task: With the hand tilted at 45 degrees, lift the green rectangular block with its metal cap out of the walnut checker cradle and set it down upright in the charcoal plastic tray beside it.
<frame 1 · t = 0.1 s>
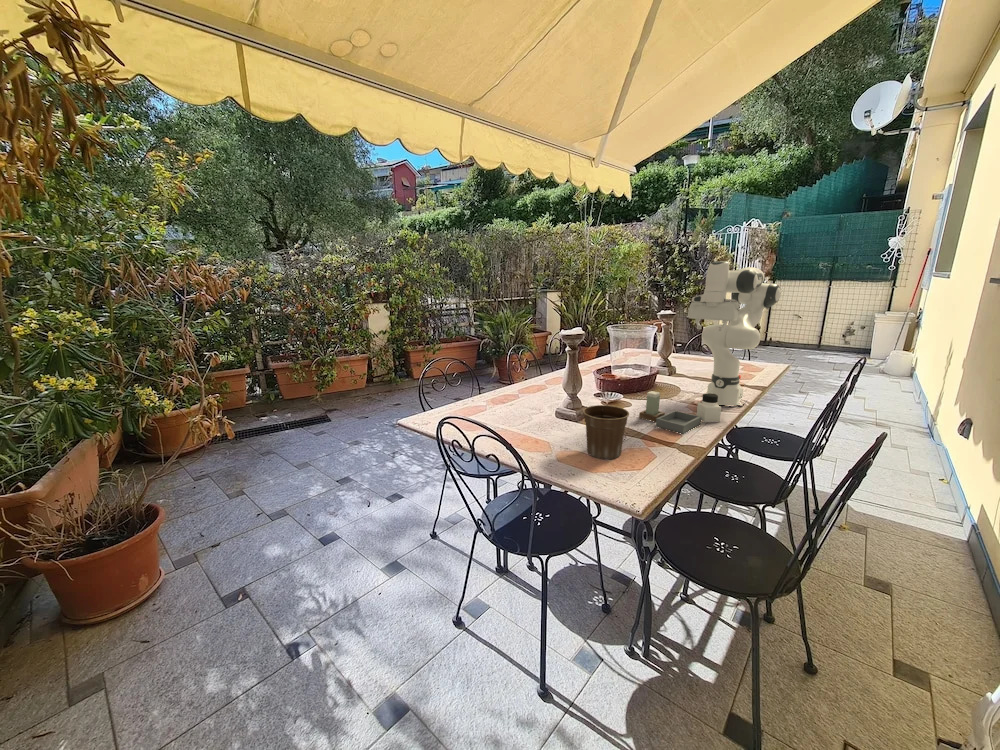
hand: (709, 330, 184), 39 cm above the table, tool pointing down, fingers open, 8 cm apart
plant pot: (604, 453, 153), on the table
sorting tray: (678, 425, 178), on the table
medicine bottle: (707, 420, 185), on the table
green rectangular block: (652, 405, 187), in the checker cradle
checker cradle: (651, 417, 188), on the table
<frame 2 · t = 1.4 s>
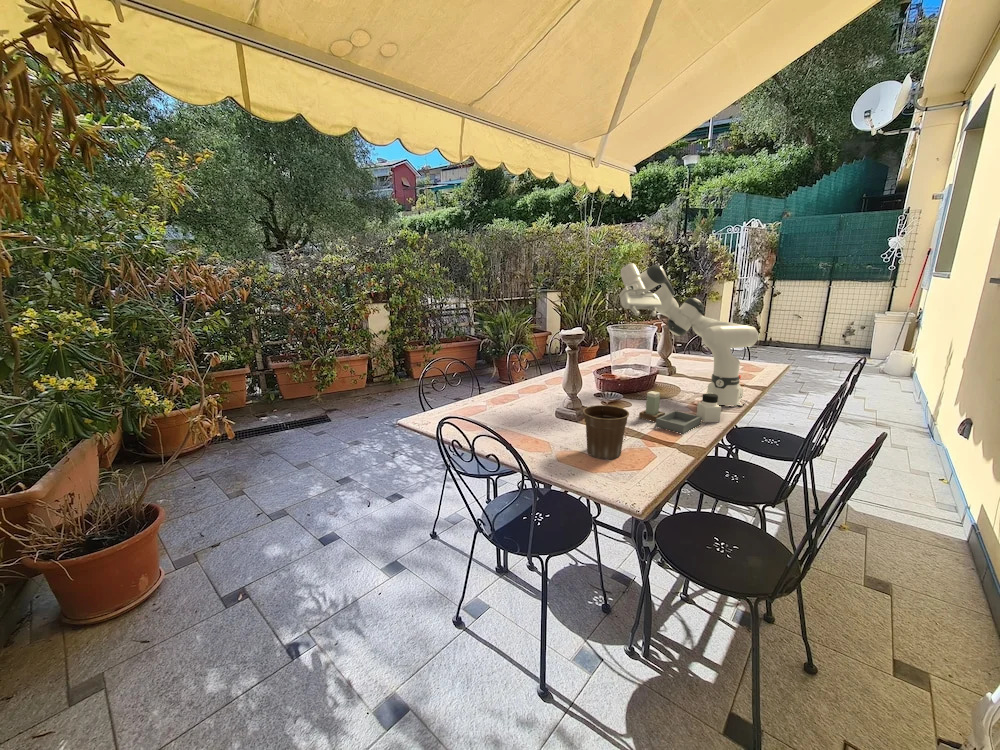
hand: (646, 315, 194), 45 cm above the table, tool tilted 40°, fingers open, 8 cm apart
nothing on the table moved.
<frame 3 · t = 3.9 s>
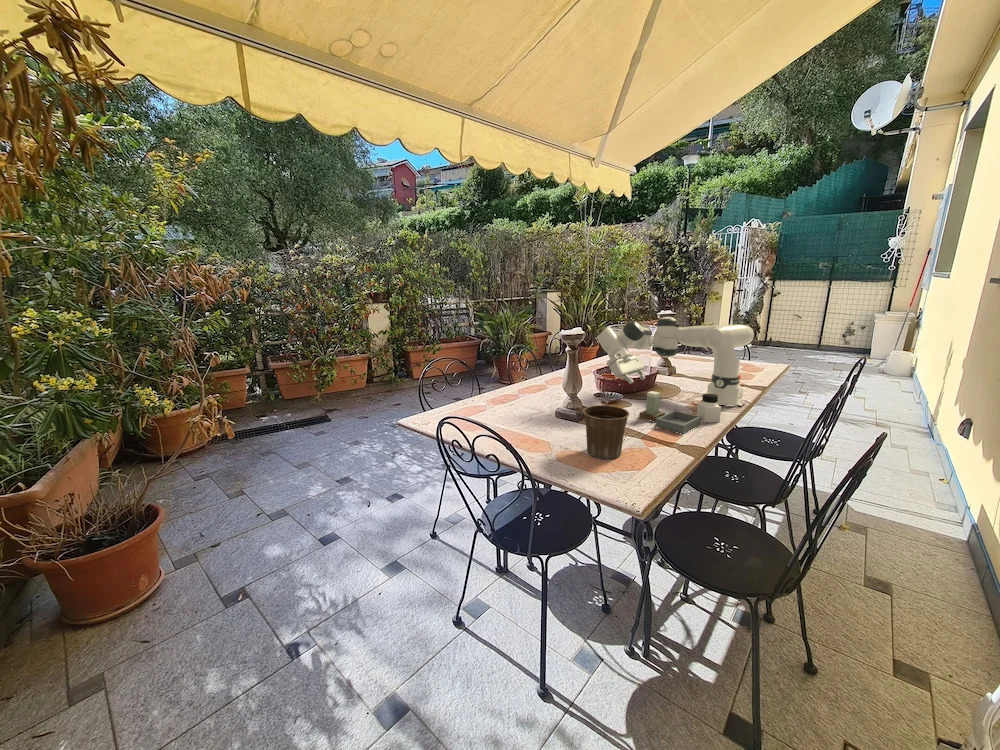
hand: (637, 381, 190), 16 cm above the table, tool tilted 45°, fingers open, 8 cm apart
nothing on the table moved.
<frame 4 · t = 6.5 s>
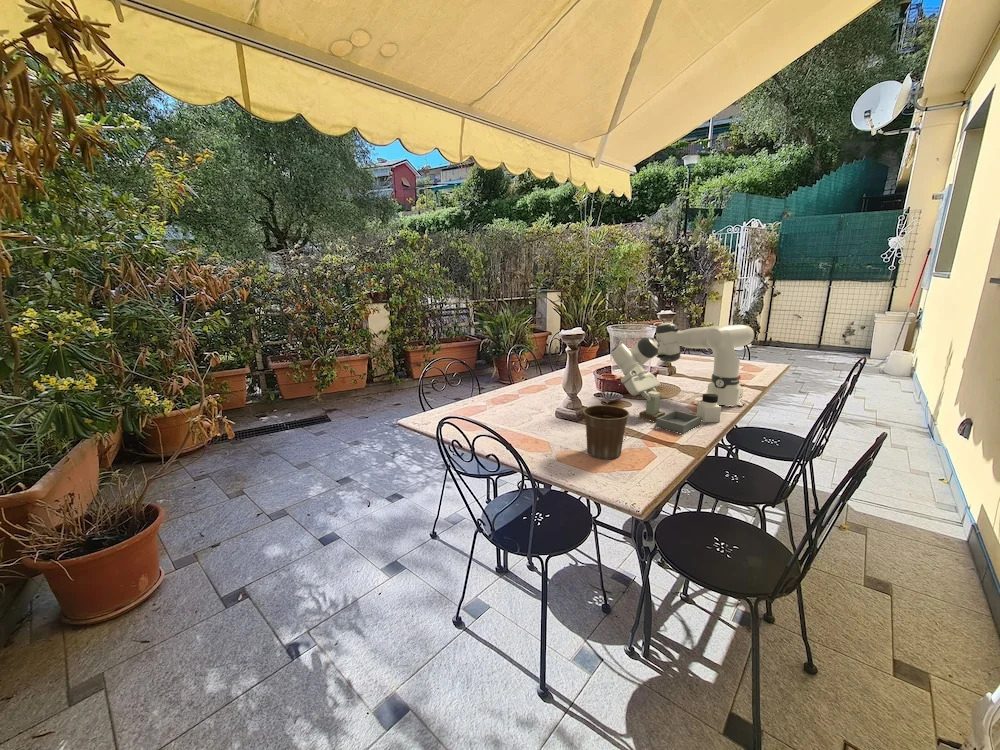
hand: (653, 398, 186), 9 cm above the table, tool tilted 45°, fingers closed on green rectangular block, 4 cm apart
green rectangular block: (652, 405, 187), in the checker cradle, touching gripper
everything else where it was.
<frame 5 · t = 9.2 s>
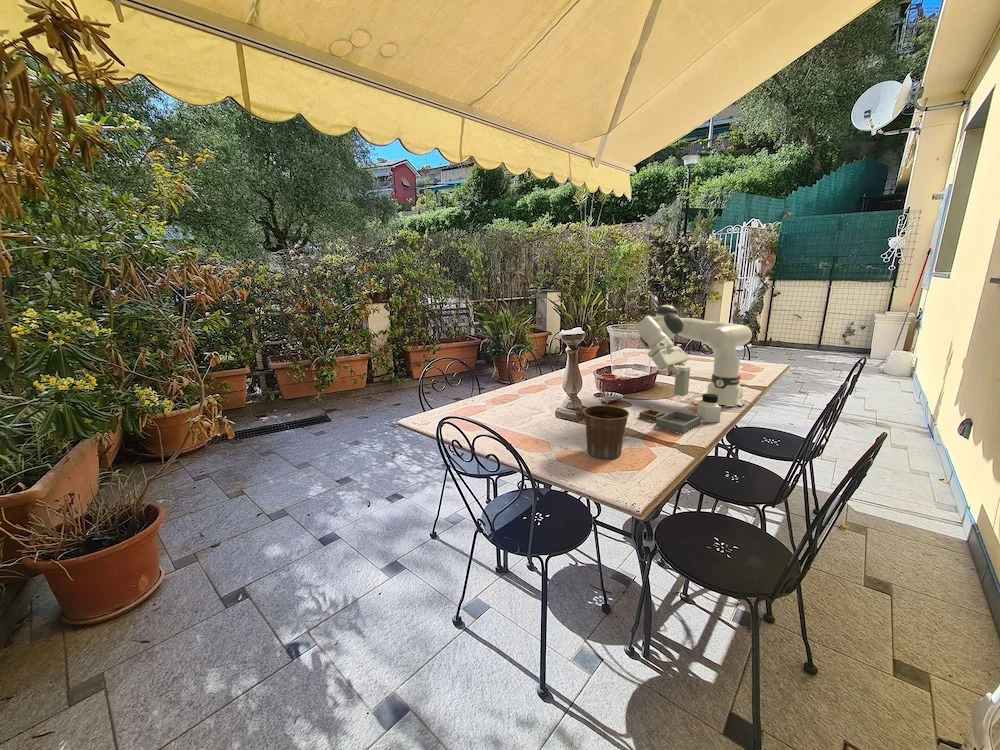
hand: (683, 373, 172), 23 cm above the table, tool tilted 45°, fingers closed on green rectangular block, 4 cm apart
green rectangular block: (682, 380, 173), point 20 cm above the table, touching gripper
everything else where it was.
when the fingers open (11 cm above the table, at t = 11.8 s): green rectangular block drops 1 cm, resting on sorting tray.
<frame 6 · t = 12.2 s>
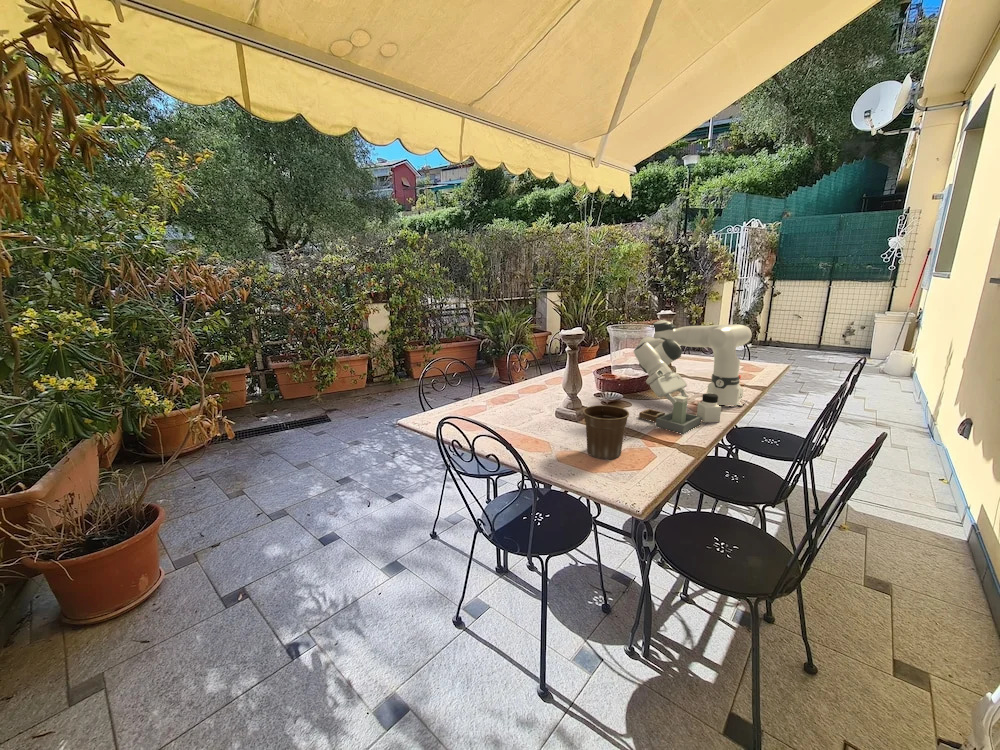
hand: (680, 400, 175), 11 cm above the table, tool tilted 45°, fingers open, 8 cm apart
green rectangular block: (679, 410, 176), in the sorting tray, point 7 cm above the table
everything else where it was.
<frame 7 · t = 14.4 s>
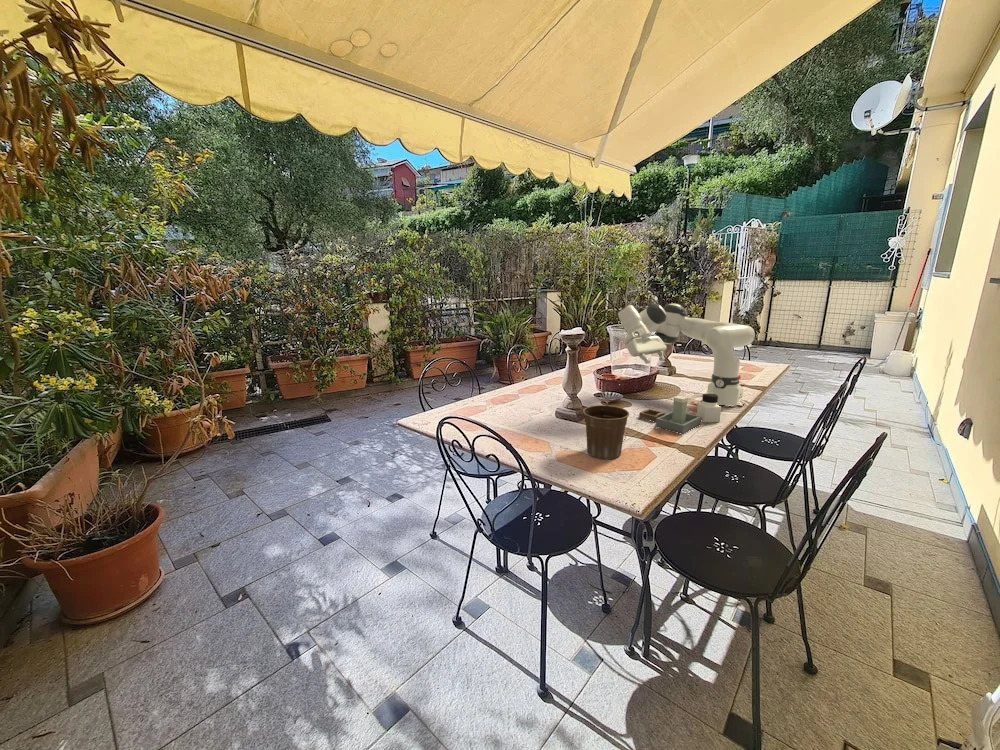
hand: (655, 361, 182), 26 cm above the table, tool tilted 40°, fingers open, 8 cm apart
nothing on the table moved.
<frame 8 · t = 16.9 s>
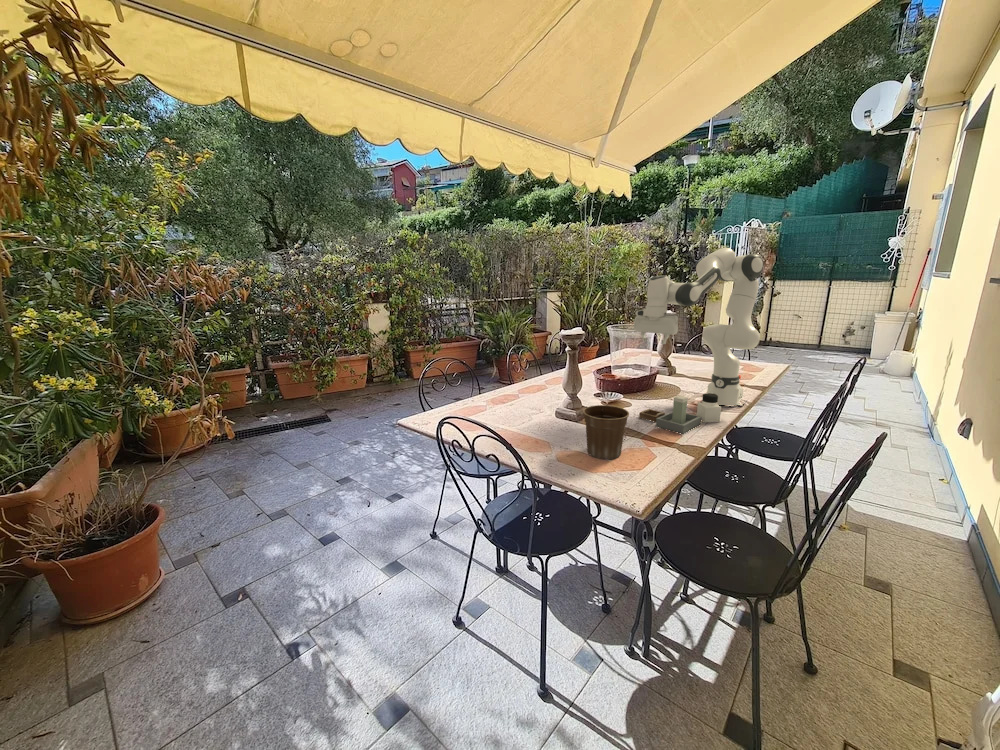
hand: (654, 342, 190), 33 cm above the table, tool pointing down, fingers open, 8 cm apart
nothing on the table moved.
at the end: green rectangular block inside the target area on the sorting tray (0.1 cm from its centre), point 6.8 cm above the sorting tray's base; green rectangular block tilted 0°; the gripper is holding nothing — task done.
